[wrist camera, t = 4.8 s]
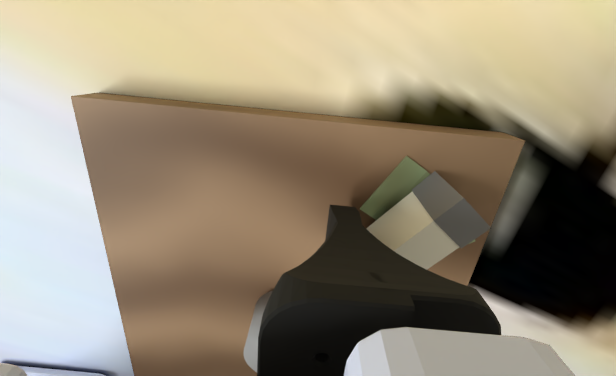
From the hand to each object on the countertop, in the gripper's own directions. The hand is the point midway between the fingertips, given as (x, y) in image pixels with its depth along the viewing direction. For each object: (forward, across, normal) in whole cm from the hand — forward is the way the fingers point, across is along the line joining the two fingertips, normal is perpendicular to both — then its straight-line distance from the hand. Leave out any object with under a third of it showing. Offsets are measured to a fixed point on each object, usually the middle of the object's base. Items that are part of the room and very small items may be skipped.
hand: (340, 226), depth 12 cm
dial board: (+2, +2, +6) cm, 7 cm away
